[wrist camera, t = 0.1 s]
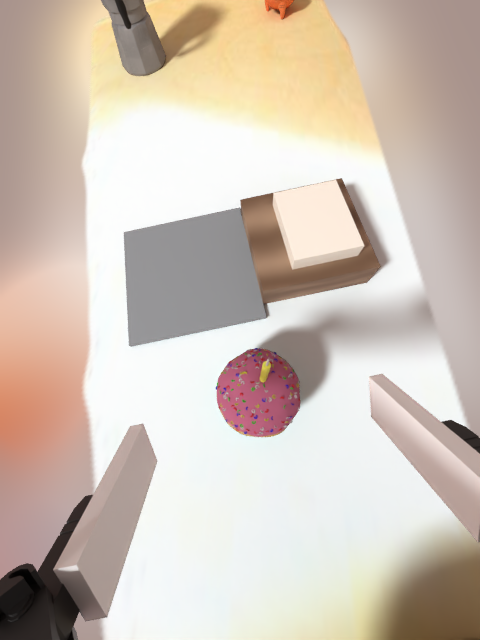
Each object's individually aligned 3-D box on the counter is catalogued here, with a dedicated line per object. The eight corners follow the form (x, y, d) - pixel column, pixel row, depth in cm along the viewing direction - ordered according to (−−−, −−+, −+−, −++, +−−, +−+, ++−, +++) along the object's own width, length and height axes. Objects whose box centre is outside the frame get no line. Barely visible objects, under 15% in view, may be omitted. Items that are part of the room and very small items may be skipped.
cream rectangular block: (357, 255, 30) (364, 245, 28) (292, 269, 30) (294, 260, 28) (331, 192, 33) (336, 179, 31) (272, 205, 33) (273, 193, 31)
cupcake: (239, 347, 32) (228, 314, 20) (305, 373, 30) (332, 353, 19) (211, 414, 29) (180, 420, 18) (280, 446, 28) (294, 475, 16)
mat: (266, 318, 33) (266, 316, 32) (130, 346, 33) (129, 345, 32) (239, 210, 39) (239, 207, 38) (125, 234, 39) (123, 232, 38)
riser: (366, 282, 33) (380, 266, 29) (262, 304, 33) (263, 291, 29) (333, 201, 38) (341, 178, 34) (242, 220, 38) (240, 199, 34)
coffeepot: (121, 50, 55) (60, -109, 38) (163, 40, 55) (120, -122, 38) (125, 93, 50) (56, -67, 33) (171, 83, 50) (126, -83, 33)
